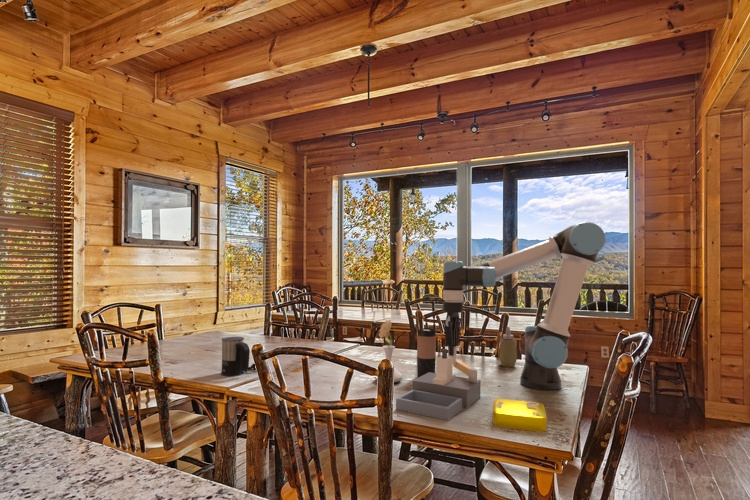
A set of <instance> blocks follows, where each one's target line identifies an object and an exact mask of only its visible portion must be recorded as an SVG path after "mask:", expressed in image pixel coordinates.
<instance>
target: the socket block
mask: <svg viewBox="0 0 750 500" xmlns="http://www.w3.org/2000/svg"><path fill="white" fill-rule="evenodd" d="M434 378H436V372H435V373H431V372H428V373H426V374H424V375H423V376H421V377H419V378H418V377H417V378H415V379H413V380H412V388H411V390H418V391H423V392H429V393H435V394H440V395H446V396H451V397H457V398H462V408H465V409H468V408H469V407H471V406H472V405H473V404H474V403H475V402H477V401H478V400H479V399H480V398H481V390H482V389H481V385H482V383H481V382H482V381H481V379H477V382H476V383H471V382H469V381H468V377H463V376H462V377H461V376H456V375H455V379H453V380H452V382H450V383H447V384H445V385H439V384H433V379H434Z"/></svg>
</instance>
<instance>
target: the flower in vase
mask: <svg viewBox="0 0 750 500" xmlns="http://www.w3.org/2000/svg"><path fill="white" fill-rule="evenodd" d="M391 328H392V321H391V320H390V319H386V320H385V321H384V322H383V323H382V324H381V326H380V329H379V333H378V337H379V338H380V339H383V338H385V339H384V340H385V342H386V343H387V344H388V345H382V348H383V350H384V354H385V360H386V359H389V360H390V361H391V362H392V358H393V357H392V356H393V352H394V349H395V348H396V346H395V345H393V339H392V336H391V333H390V330H391ZM387 334H388V335H389V338H390V339H389V338H388V336H387ZM373 378H374V379H375V380H376V381H377V378H376V377H373ZM402 379H403V375H402V373H401V372H400V371H398V370H397V369H396V368H395V367H394V384H395V383H397V382H400V381H402Z"/></svg>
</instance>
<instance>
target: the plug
mask: <svg viewBox="0 0 750 500" xmlns="http://www.w3.org/2000/svg"><path fill="white" fill-rule="evenodd" d="M452 360H453V357H448V349H446V348H442V349H441V356H438V357H437V358H436V362H435V373H436V378H434V379H433V384H439V385H445V384H447V383H450V382H452V380H453V379H455V376H456V373H453V364H452Z"/></svg>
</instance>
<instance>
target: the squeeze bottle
mask: <svg viewBox="0 0 750 500" xmlns="http://www.w3.org/2000/svg"><path fill="white" fill-rule="evenodd" d="M499 345H500V347H499V355H498V357H499V358H498V359H499V362H500V365H501V366H502V367H505V368H514V367H515V366H516V363H517V360H518V355H517V345H516V340H515V339H514V335H513V334H512V332H511V328H510V327H509V326H507V327H506V331H505V334H502V339H501V340H500V344H499Z"/></svg>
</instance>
